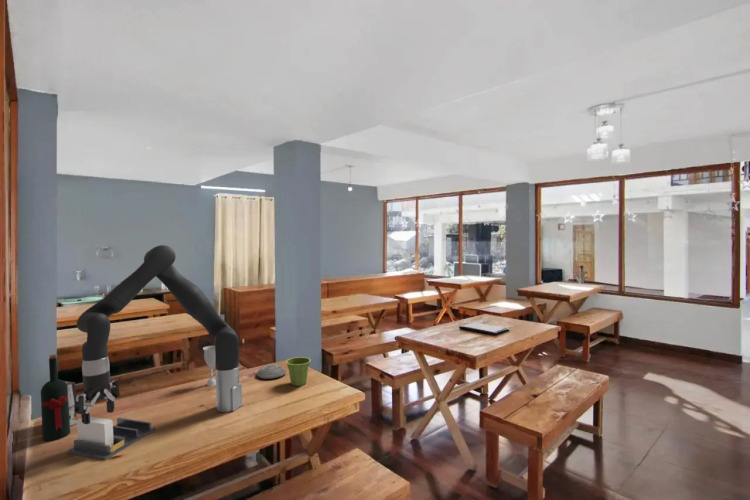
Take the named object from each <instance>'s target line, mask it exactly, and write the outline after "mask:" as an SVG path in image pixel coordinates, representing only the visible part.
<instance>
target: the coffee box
mask: <svg viewBox="0 0 750 500" xmlns="http://www.w3.org/2000/svg"><path fill="white" fill-rule="evenodd" d="M64 381H65V382H66V383H67V386H68V402H69V419H70V427H71V426H74V425H75V424H76V425H77V420H78V417H77V414H76V413H74V397H75V395H76V382H75V381H74V382H73V381H68V380H67V381H66V380H64ZM43 386H44V385H43ZM43 386H41V388H42V387H43Z"/></svg>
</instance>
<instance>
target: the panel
mask: <svg viewBox="0 0 750 500" xmlns="http://www.w3.org/2000/svg"><path fill="white" fill-rule="evenodd" d="M76 425H77V426H76V427H77V440H82V441H87V442H93V443H99V444H105V445H110V448H111V447H112V446H114V440H113V426H114V422H113V419H110V418H102V417H95V416H90V423H89V424H83V423H82V418H81V417H79V418H77V423H76Z"/></svg>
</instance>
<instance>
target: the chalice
mask: <svg viewBox="0 0 750 500" xmlns="http://www.w3.org/2000/svg"><path fill="white" fill-rule="evenodd" d="M202 350H203V353H204V354H203V356H204V361H205V363H206V365H207V367H209V369H210V370H209V372H210V374H209V376H210V378H209V379H207V382H206V386H207V387H214V386H216V378H214V369H213V367H215V345H208V346H204V347H203V348H202Z"/></svg>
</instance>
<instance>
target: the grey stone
mask: <svg viewBox="0 0 750 500" xmlns="http://www.w3.org/2000/svg"><path fill="white" fill-rule="evenodd" d="M285 374H287V369H286V368H285V367H284V366H282V365H279V364H269V365H265V366H262V367H261V368H259V369H258V371H257V372H256V374H255V375H256V376H257V377H258V378H260V379H265V380H266V379H267V380H269V379H270V380H271V379H272V380H273V379H277V378H280V377H283V376H284V375H285Z"/></svg>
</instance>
